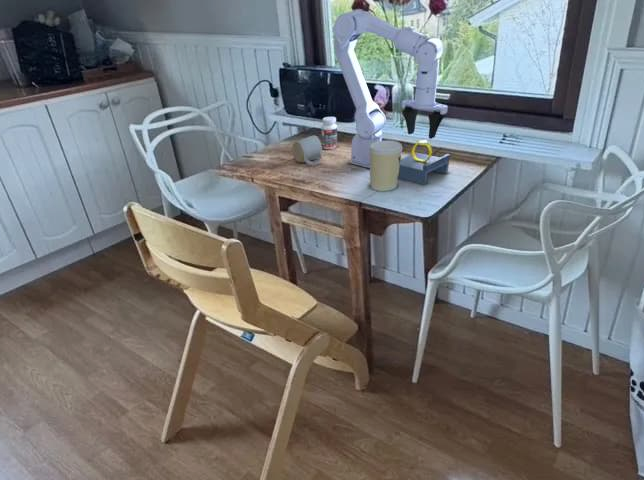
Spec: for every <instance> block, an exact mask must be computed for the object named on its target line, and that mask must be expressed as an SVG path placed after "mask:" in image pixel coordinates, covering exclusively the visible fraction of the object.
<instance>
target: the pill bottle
mask: <svg viewBox="0 0 644 480" xmlns="http://www.w3.org/2000/svg"><path fill="white" fill-rule="evenodd" d="M336 122H337V117H335V116H325V117H323V118H322V124H321V125H320V130H321V132H320V142H321V146H322V149H324V150H332V149H335V148H337V146H338V125H337V124H336Z"/></svg>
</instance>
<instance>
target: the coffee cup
mask: <svg viewBox="0 0 644 480" xmlns="http://www.w3.org/2000/svg"><path fill="white" fill-rule="evenodd" d="M369 151H370V168H369V181H370V183H369V184H370V188H371V189H373V190H374V191H379V192H380V191H381V192H385V191H392V190H394V189H396V188H397V186H398V180H399V178H398V173H399V167H400V160H401V159H402V151H403V145H402V143H401V142H399V141H395V140H382V141H378V142H375V143H373V144H371V145H370V148H369Z"/></svg>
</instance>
